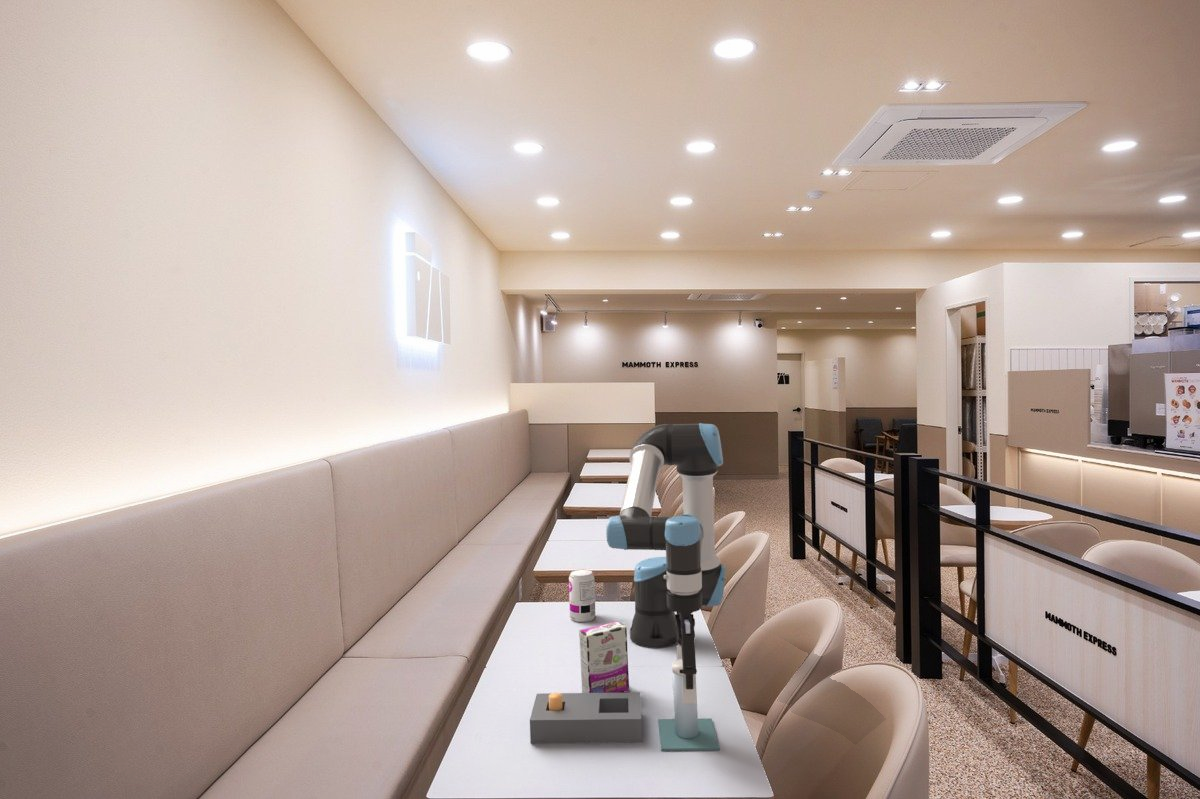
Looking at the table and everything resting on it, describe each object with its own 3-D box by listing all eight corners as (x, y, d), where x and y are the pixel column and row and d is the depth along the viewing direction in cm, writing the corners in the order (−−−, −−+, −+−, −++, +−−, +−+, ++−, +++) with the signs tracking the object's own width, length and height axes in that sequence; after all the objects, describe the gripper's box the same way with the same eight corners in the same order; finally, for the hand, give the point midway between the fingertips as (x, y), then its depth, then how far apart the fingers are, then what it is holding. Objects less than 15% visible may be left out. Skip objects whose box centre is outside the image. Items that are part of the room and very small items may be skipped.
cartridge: (685, 724, 150) (682, 657, 149) (703, 731, 146) (699, 663, 146) (670, 732, 146) (667, 664, 146) (688, 741, 143) (685, 670, 142)
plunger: (563, 718, 152) (562, 692, 152) (562, 725, 149) (561, 699, 149) (550, 718, 152) (549, 692, 152) (548, 725, 149) (547, 699, 149)
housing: (640, 713, 156) (640, 692, 156) (642, 741, 144) (641, 718, 144) (537, 714, 157) (536, 693, 156) (530, 743, 145) (529, 720, 145)
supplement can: (567, 622, 214) (566, 576, 214) (573, 613, 222) (571, 568, 222) (592, 623, 213) (591, 576, 212) (597, 614, 221) (596, 569, 220)
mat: (658, 721, 152) (658, 718, 152) (711, 720, 152) (711, 718, 152) (661, 750, 140) (661, 748, 140) (719, 750, 140) (719, 748, 140)
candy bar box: (619, 683, 171) (618, 620, 171) (629, 691, 167) (628, 626, 166) (580, 694, 166) (578, 628, 165) (589, 702, 162) (587, 635, 161)
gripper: (663, 573, 157) (665, 663, 158) (670, 610, 133) (673, 716, 133) (695, 572, 157) (697, 662, 158) (709, 609, 132) (711, 716, 133)
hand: (686, 687), depth 146 cm, fingers open, 12 cm apart
